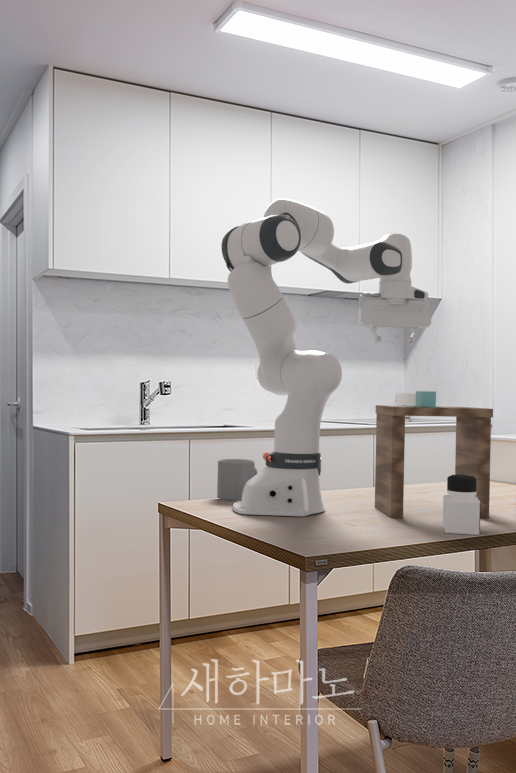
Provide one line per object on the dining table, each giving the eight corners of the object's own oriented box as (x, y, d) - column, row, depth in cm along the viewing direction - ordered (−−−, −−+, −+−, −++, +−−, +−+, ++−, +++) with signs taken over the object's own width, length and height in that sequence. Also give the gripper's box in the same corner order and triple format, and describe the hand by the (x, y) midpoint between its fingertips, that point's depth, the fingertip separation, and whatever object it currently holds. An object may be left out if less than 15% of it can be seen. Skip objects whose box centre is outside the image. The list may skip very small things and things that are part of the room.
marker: (435, 406, 165) (436, 391, 165) (421, 406, 165) (421, 391, 165) (405, 404, 188) (406, 391, 188) (392, 404, 188) (393, 390, 188)
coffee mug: (231, 501, 181) (232, 463, 181) (209, 496, 189) (210, 459, 189) (271, 497, 190) (271, 460, 190) (248, 492, 198) (249, 457, 198)
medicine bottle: (480, 535, 145) (481, 478, 145) (444, 533, 146) (445, 476, 146) (476, 528, 152) (477, 474, 152) (442, 527, 153) (443, 472, 153)
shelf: (391, 518, 162) (394, 406, 162) (373, 506, 178) (375, 404, 178) (490, 518, 164) (493, 407, 164) (464, 507, 180) (466, 406, 180)
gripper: (361, 290, 190) (360, 341, 190) (434, 293, 192) (432, 343, 192) (355, 293, 196) (354, 342, 196) (426, 296, 198) (425, 345, 198)
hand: (394, 343), depth 194 cm, fingers open, 8 cm apart
